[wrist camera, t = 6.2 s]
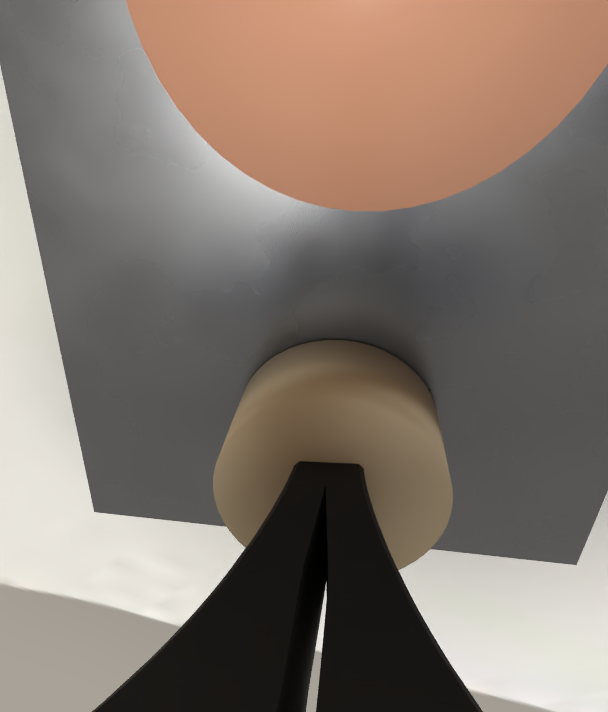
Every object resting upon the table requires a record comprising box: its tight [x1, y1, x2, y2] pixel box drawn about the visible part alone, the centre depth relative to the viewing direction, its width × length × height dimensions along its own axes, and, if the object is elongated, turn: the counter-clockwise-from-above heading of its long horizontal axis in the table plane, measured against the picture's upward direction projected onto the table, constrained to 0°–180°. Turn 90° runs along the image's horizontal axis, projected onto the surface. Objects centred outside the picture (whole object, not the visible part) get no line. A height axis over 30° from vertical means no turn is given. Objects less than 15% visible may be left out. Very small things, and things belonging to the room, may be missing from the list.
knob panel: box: [0, 0, 608, 565], centre depth 10 cm, size 14×26×2 cm, turn 178°
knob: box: [213, 340, 453, 570], centre depth 12 cm, size 5×5×2 cm
